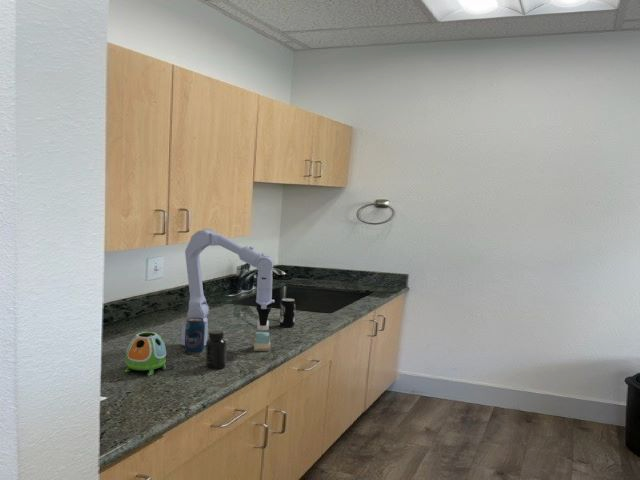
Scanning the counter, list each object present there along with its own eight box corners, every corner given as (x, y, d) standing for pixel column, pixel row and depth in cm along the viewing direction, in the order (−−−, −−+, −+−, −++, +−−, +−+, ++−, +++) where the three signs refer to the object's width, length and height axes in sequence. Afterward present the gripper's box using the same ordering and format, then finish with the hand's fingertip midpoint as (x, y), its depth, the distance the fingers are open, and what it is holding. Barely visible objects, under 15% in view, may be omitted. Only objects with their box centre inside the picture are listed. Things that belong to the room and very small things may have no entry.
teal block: (269, 343, 223) (269, 335, 223) (255, 343, 223) (256, 335, 222) (268, 340, 228) (269, 332, 228) (255, 339, 228) (256, 332, 227)
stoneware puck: (262, 330, 222) (263, 322, 222) (254, 328, 225) (254, 320, 225) (271, 329, 226) (271, 321, 225) (262, 326, 228) (263, 319, 228)
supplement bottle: (216, 362, 205) (217, 328, 204) (230, 366, 201) (231, 332, 200) (201, 366, 200) (202, 331, 199) (214, 371, 196) (215, 335, 195)
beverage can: (292, 328, 260) (293, 301, 259) (277, 326, 262) (279, 300, 260) (295, 325, 267) (297, 298, 266) (281, 323, 268) (282, 297, 267)
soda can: (184, 354, 213) (185, 321, 212) (184, 349, 220) (185, 317, 219) (204, 354, 215) (205, 321, 214) (203, 348, 221) (204, 317, 220)
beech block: (270, 351, 223) (270, 343, 223) (254, 351, 223) (254, 343, 222) (269, 347, 229) (270, 339, 229) (254, 347, 229) (254, 339, 228)
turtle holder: (177, 362, 204) (178, 327, 203) (154, 378, 186) (155, 341, 185) (143, 358, 206) (144, 324, 205) (117, 374, 188) (118, 337, 187)
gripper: (275, 292, 217) (273, 328, 218) (274, 285, 231) (273, 319, 233) (256, 291, 216) (254, 328, 218) (256, 285, 231) (255, 319, 232)
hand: (263, 323), depth 225 cm, fingers closed on stoneware puck, 4 cm apart
